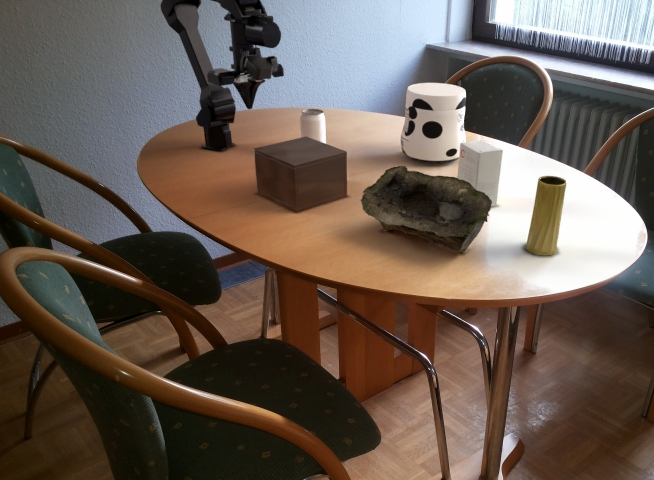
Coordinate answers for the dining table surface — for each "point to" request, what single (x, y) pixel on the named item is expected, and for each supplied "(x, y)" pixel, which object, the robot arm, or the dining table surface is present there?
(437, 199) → the grey rough hollow block
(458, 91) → the milk container
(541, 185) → the vase
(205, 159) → the dining table surface
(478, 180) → the small box
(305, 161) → the cabinet
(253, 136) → the dining table surface
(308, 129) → the can
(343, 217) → the dining table surface
